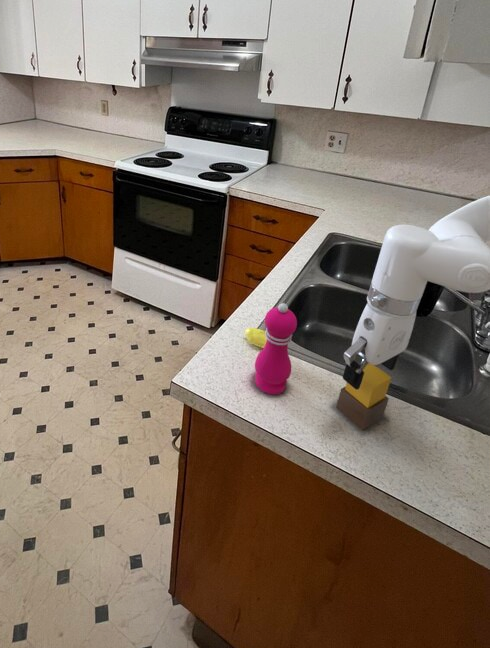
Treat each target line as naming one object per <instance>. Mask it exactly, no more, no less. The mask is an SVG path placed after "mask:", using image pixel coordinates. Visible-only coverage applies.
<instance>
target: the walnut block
mask: <svg viewBox="0 0 490 648" xmlns="http://www.w3.org/2000/svg"><path fill="white" fill-rule="evenodd" d="M345 387H346V385H345V386H343V387H341V388H340V391H339V394H338V398H337V402H336V405H335V407H336V409H337V410H338V411H340V413H342V414H343V415H344V416H345V417H346V418H347V419H348V420H350V421H351V422H352V423H353V424H354V425H355V426H356V427H357V428H359V429H360V430H361V431H363V430H365V429H367V428H369V427H370V426H371V425H373V424H375V423H376V422H378V421H379V420H381V419H382V418H383V417H384V415H385V412H386V409H387V405H388V402H389V399H390V398H389V397H388V396H385V398H383V399H382V400H380V401H378V402H377V403H375V404H374V405H372V406H370V407H369V408H367V407H366V406H364V405H363V404H362V403H361V402H360V401H358V400H357V399H356V398H355V397H354V396H352V395H351V394H350V393H349V392H348V391H346V390H345Z"/></svg>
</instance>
